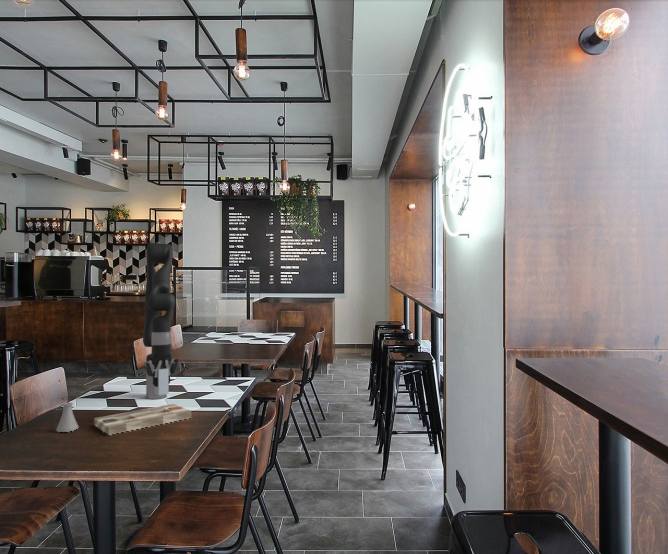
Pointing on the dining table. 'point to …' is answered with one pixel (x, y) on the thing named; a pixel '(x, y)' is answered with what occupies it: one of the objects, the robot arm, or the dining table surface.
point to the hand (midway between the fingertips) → (161, 385)
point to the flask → (67, 419)
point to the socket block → (141, 418)
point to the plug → (162, 382)
